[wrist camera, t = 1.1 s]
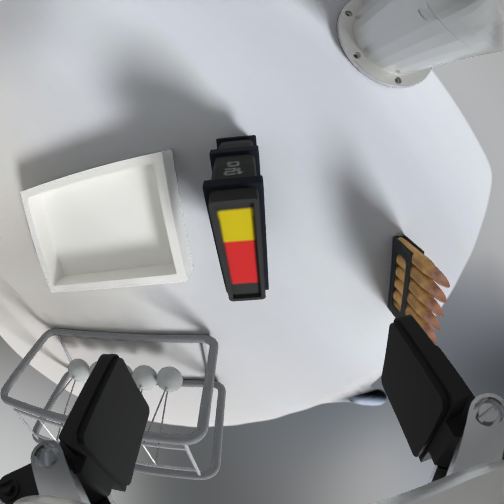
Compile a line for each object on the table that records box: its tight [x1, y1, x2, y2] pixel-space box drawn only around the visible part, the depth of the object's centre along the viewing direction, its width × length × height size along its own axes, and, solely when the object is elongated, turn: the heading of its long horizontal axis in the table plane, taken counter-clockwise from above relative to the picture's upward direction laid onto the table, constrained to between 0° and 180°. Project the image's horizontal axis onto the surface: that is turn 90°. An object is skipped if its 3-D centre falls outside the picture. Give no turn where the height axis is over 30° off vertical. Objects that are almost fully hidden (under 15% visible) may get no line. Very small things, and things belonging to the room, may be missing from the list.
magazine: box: [203, 135, 269, 301], centre depth 27 cm, size 4×13×15 cm, turn 5°
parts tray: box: [21, 150, 194, 293], centre depth 31 cm, size 14×20×4 cm
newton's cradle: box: [1, 328, 226, 480], centre depth 33 cm, size 30×10×18 cm, turn 93°
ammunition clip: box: [388, 235, 450, 343], centre depth 31 cm, size 11×2×12 cm, turn 8°
